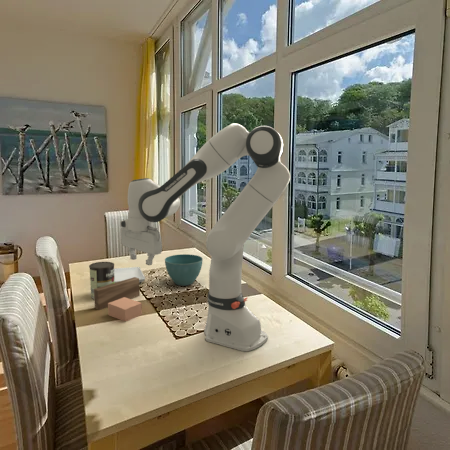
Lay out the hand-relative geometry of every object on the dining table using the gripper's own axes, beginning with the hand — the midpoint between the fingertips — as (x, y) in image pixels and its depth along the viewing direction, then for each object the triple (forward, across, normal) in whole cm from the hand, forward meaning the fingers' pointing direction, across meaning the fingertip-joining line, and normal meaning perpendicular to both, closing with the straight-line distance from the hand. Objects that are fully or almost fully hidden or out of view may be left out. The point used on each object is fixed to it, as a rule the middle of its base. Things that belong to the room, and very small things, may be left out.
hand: (141, 261), depth 129 cm
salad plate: (+24, +46, -21) cm, 56 cm away
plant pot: (+23, +20, -40) cm, 50 cm away
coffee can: (+24, +33, -4) cm, 41 cm away
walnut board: (+23, +22, -4) cm, 32 cm away
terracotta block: (+23, +9, +1) cm, 25 cm away
